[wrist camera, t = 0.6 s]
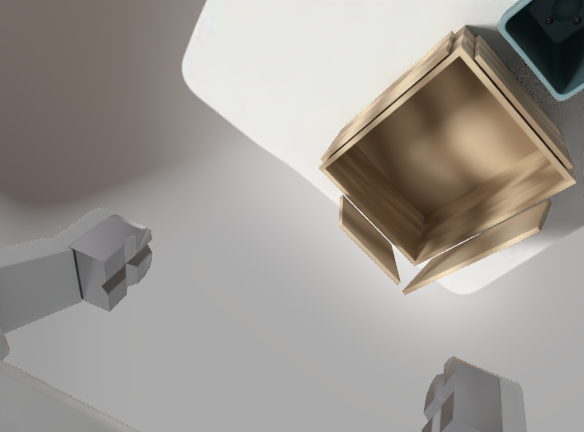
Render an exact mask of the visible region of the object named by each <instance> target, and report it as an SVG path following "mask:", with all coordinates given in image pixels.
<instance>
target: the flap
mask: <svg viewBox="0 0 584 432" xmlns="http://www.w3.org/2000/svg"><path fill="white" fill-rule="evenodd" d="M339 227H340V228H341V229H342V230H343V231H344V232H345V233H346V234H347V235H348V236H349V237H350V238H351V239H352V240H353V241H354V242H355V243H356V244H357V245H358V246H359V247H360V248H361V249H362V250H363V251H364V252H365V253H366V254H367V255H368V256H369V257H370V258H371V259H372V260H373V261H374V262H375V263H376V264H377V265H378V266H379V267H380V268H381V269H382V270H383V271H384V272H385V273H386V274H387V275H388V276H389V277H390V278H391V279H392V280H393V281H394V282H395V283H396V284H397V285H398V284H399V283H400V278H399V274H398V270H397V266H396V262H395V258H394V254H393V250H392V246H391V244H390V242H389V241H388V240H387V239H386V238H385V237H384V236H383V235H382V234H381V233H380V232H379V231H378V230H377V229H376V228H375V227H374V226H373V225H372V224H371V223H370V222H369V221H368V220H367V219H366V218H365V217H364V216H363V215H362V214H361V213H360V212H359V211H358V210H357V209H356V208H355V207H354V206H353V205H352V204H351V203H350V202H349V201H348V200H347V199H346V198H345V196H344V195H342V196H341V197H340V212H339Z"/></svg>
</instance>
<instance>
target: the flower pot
mask: <svg viewBox="0 0 584 432" xmlns="http://www.w3.org/2000/svg"><path fill="white" fill-rule="evenodd" d="M549 17H550V18H552V22H551V23H546V19H547V18H549ZM576 17H580V21H579V22H578V23H575V22H574V19H575V18H576ZM497 28H498V30H499V32H500V33H501V34H502V36H503V37H504V38H505V39H506V40H507V41H508V42H509V43H510V45H511V46H512V47H513V48H514V49H515V50H516V52H517V53H518V54H519V55H520V56H521V57H522V59H523V60H524V61H525V62H526V64H527V65H528V66H529V67H530V68H531V69H532V71H533V72H534V73H535V74H536V75H537V77H538V78H539V79H540V80H541V82H542V83H543V84H544V85H545V87H546V88H547V89H548V90H549V92H550V93H551V94H552V96H553V97H554V98H555V99H556V100H558V101H565V100H567V99H569V98H570V97H572V96H573V95H575V94H576V93H578V92H580V91H581V90H582V89H584V0H519V1H518V2H517V3H516V4H514V5H513V6H512V7H511V8H509V9H508V10H507V11H506V12H505V13H504V15H503V16H502V18H501V19H500V21H499V22H498V24H497Z"/></svg>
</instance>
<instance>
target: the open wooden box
mask: <svg viewBox="0 0 584 432" xmlns="http://www.w3.org/2000/svg"><path fill="white" fill-rule="evenodd" d="M321 160H322V161H323V163H322V164H321V165H320V167H319V169H320V170H321V171H322V172H323V173H324V174H325V175H326V176H327V177H328V178H329V179H330V180H331V181H332V182H333V183H334V184H335V185H336V186H337V187H338V188H339V189H340V190H341V191H342V192H343V193H344V194H345V195H346V196H347V198H348V199H349V200H350V201H351V202H352V203H353V204H354V205H355V206H356V207H357V208H358V209H359V210H360V211H361V212H362V213H363V214H364V215H365V216H366V217H367V218H368V219H369V220H370V221H371V222H372V223H373V224H374V225H375V226H376V227H377V228H378V229H379V230H380V231H381V232H382V233H383V234H384V235H385V236H386V237H387V238H388V239H389V240H390V242H391V243H392V244H393V245H394V246H395V247H396V248H397V249H398V250H399V251H400V252H401V253H402V254H403V255H404V256H405V257H406V258H407V259H408V260H409V261H410V262H411V263H412V264H413V265H414V266H416V265H418V264H420V263H422V262H424V261H426V260H428V259H430V258H431V257H433V256H435V255H437V254H439V253H441V252H443V251H445V250H447V249H449V248H451V247H453V246H455V245H457V244H459V243H461V242H463V241H465V240H467V239H469V238H470V237H472V236H474V235H476V234H478V233H480V232H482V231H484V230H486V229H488V228H490V227H492V226H494V225H496V224H498V223H500V222H502V221H504V220H506V219H507V218H509V217H511V216H513V215H515V214H517V213H519V212H521V211H523V210H525V209H527V208H529V207H531V206H533V205H535V204H537V203H539V202H541V201H543V200H544V199H546V198H548V197H550V196H552V195H554V194H556V193H558V192H560V191H562V190H564V189H566V188H568V187H570V186H572V185H574V184H576V180H575V177H574V174H573V172H572V169H571V168H573V165H572V162H571V159H570V157H569V154H568V151H567V149H566V146H565V143H564V141H563V138H562V135H561V133H560V130H559V129H558V128H557V127H556V126H555V124H554V123H553V122H552V121H551V120H550V118H549V117H548V116H547V115H546V114H545V112H544V111H543V110H542V109H541V108H540V106H539V105H538V104H537V103H536V102H535V100H534V99H533V98H532V97H531V96H530V94H529V93H528V92H527V91H526V90H525V88H524V87H523V86H522V85H521V84H520V82H519V81H518V80H517V79H516V78H515V76H514V75H513V74H512V73H511V72H510V70H509V69H508V68H507V67H506V66H505V64H504V63H503V62H502V61H501V60H500V58H499V57H498V56H497V55H496V54H495V52H494V51H493V50H492V49H491V48H490V46H489V45H488V44H487V43H486V42H485V41H484V39H483V38H482V37H481V36H480V35H479V36H478V37H475V36H474V35H473V34H472V33H471V32H470V30H469V29H468V28H467V27H466V26H464V27H462V28H461V29H460V30H459V31H458V32H457V33H456V34H455V35H454V33H453V32H452V31H451V32H450V33H449V34H448V35H447V36H446V37H445V38H444V39H442V40H441V41H440V42H439V43H438V44H437V45H436V46H435V47H433V48H432V49H431V50H430V51H429V52H428V53H427V54H426V55H425V56H423V57H422V58H421V59H420V60H419V61H418V62H417V63H416V64H414V65H413V66H412V67H411V68H410V69H409V70H408V71H407V72H406V73H404V74H403V75H402V76H401V77H400V78H399V79H398V80H397V81H395V82H394V83H393V84H392V85H391V86H390V87H389V88H388V89H387V90H385V91H384V92H383V93H382V94H381V95H380V96H379V97H378V98H376V99H375V100H374V101H373V102H372V103H371V104H370V105H369V106H368V107H366V108H365V109H364V110H363V111H362V112H361V113H360V114H359V115H357V116H356V117H355V118H354V119H353V120H352V121H351V122H350V123H349V124H347V125H346V126H345V127H344V128H343V129H342V130H341V131H340V133H339V134H338V135H337V137H336V138H335V140H334V141H333V143H332V144H331V145H330V147H329V148H328V150H327V151H326V152H325V154H324V155H323V157H322V158H321Z"/></svg>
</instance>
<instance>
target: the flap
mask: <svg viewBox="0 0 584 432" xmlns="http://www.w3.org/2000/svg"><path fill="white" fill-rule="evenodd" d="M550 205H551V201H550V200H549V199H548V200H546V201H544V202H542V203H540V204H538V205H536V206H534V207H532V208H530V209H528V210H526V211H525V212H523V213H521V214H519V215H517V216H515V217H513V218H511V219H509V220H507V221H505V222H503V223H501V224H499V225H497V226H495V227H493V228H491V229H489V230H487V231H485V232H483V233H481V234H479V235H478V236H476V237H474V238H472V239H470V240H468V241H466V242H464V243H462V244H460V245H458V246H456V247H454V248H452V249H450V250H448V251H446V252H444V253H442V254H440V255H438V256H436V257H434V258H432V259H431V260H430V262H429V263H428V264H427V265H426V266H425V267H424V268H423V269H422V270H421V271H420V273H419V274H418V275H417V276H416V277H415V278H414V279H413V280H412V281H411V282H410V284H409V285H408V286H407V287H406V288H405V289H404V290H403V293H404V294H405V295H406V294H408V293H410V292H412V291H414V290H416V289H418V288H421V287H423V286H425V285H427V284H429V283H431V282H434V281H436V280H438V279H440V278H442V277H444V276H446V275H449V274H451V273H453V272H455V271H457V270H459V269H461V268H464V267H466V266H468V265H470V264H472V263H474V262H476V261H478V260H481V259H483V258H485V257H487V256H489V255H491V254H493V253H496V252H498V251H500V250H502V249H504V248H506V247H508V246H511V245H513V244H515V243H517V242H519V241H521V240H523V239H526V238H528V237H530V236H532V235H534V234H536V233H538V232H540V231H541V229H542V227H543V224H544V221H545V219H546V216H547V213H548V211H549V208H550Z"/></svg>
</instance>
